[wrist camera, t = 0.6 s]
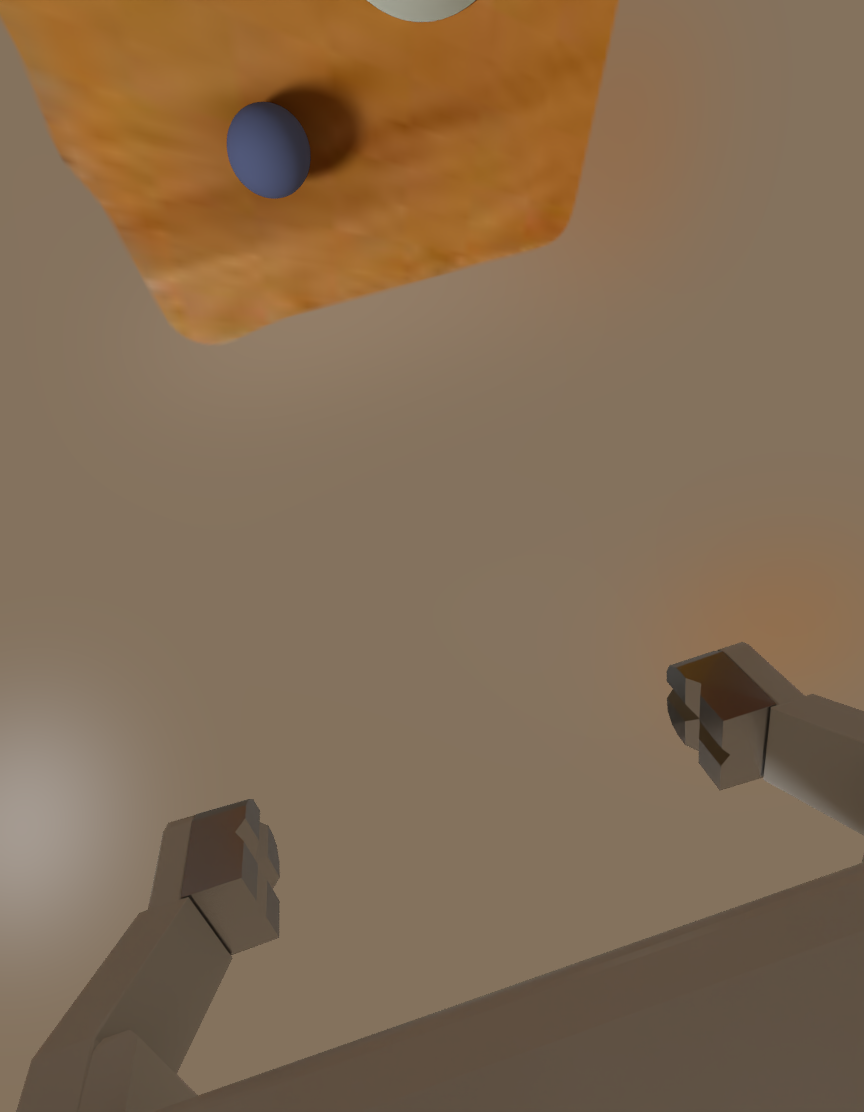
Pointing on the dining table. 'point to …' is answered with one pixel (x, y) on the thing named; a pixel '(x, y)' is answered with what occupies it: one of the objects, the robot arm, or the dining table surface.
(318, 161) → the dining table surface
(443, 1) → the disc
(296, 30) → the dining table surface
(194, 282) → the dining table surface
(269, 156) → the ball
